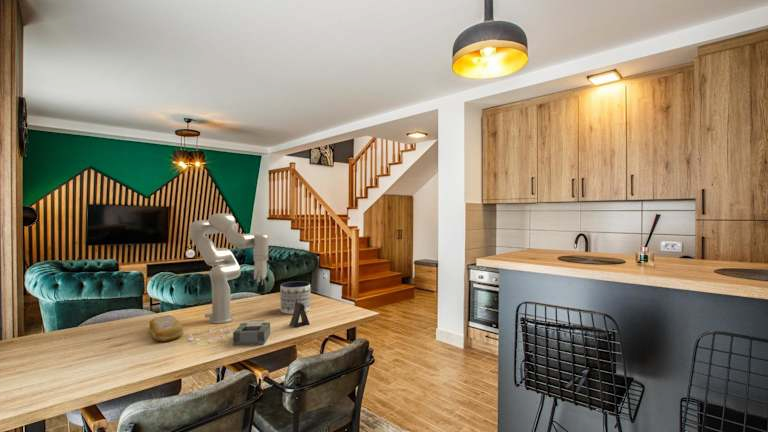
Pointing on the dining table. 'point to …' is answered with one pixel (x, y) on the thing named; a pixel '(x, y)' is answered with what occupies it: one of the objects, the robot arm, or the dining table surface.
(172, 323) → the bread
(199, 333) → the game piece set
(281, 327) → the dining table surface
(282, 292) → the planter
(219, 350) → the dining table surface
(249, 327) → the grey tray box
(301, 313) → the dark grey a-shaped piece
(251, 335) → the block
